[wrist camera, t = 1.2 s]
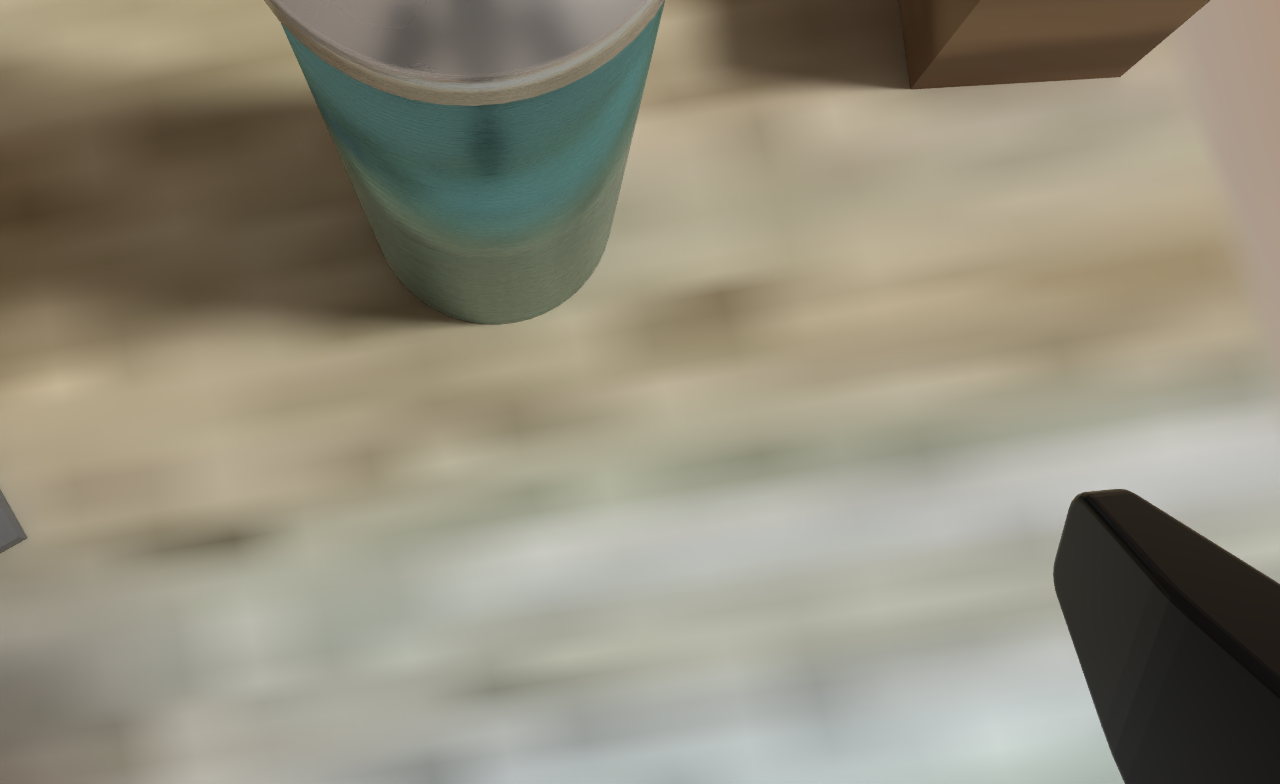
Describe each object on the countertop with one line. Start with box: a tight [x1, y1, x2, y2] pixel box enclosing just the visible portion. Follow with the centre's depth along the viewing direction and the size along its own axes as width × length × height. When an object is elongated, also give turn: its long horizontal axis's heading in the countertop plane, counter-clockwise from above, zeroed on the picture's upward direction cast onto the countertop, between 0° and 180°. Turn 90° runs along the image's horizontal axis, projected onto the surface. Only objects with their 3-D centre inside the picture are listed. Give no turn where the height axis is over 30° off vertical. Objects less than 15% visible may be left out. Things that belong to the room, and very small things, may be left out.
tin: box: [264, 0, 665, 324], centre depth 18 cm, size 5×5×12 cm
